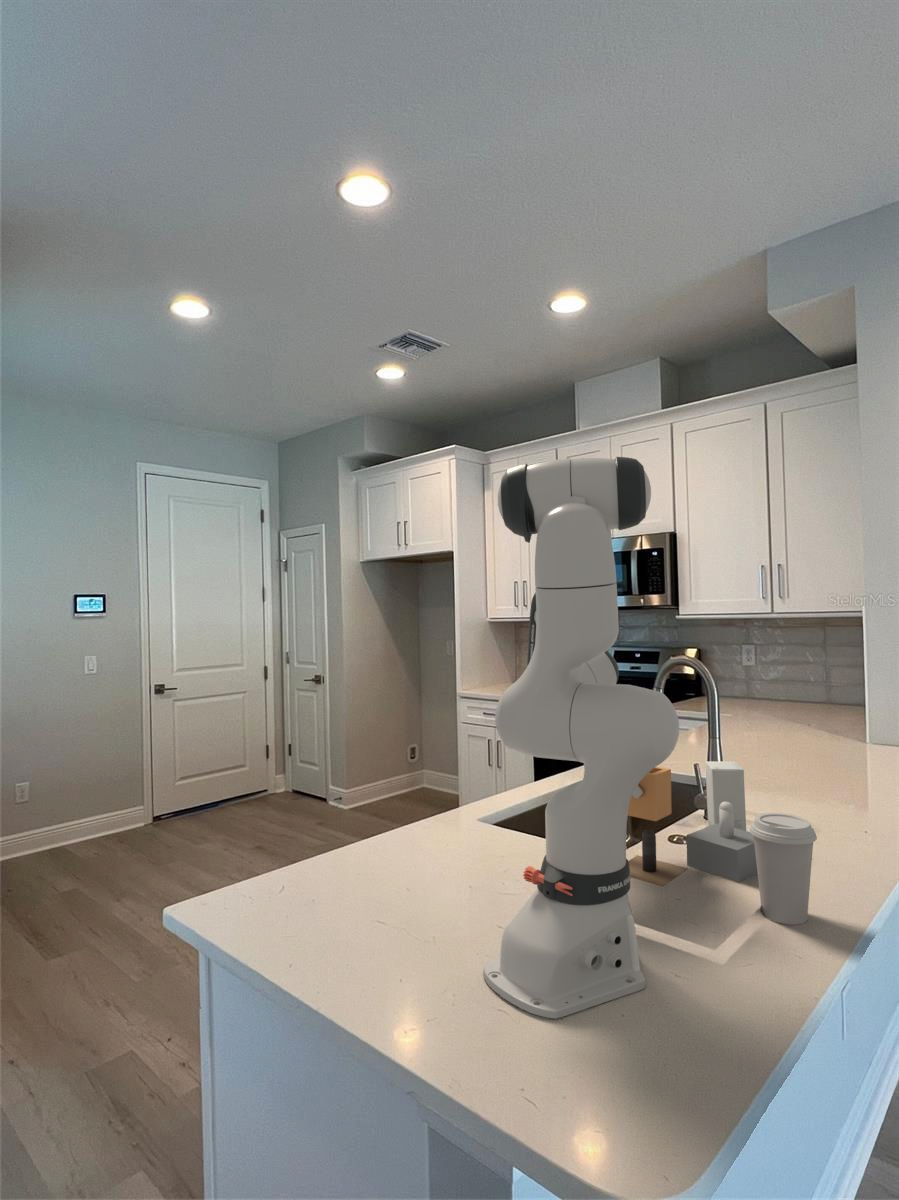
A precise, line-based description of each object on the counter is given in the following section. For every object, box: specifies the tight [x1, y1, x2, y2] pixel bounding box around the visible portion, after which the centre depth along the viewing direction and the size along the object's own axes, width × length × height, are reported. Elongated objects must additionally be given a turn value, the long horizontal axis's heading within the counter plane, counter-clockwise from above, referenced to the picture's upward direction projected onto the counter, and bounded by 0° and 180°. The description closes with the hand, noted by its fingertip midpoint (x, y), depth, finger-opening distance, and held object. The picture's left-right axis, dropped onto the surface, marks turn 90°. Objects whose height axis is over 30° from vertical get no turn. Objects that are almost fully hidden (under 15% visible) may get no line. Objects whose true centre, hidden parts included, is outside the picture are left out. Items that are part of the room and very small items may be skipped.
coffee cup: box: [749, 812, 818, 926], centre depth 110 cm, size 10×10×15 cm
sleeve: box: [627, 766, 673, 822], centre depth 125 cm, size 6×6×8 cm
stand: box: [628, 829, 689, 887], centre depth 125 cm, size 10×10×9 cm
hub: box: [686, 802, 758, 883], centre depth 126 cm, size 10×10×13 cm
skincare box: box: [704, 760, 747, 831], centre depth 144 cm, size 8×7×16 cm
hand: (651, 791), depth 125 cm, fingers closed on sleeve, 6 cm apart
